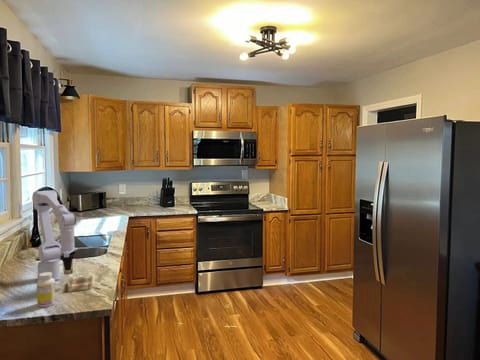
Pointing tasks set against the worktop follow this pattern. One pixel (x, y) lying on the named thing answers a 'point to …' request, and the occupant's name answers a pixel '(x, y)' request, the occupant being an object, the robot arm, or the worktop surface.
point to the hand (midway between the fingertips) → (68, 268)
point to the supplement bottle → (46, 290)
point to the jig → (80, 283)
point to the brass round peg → (68, 270)
